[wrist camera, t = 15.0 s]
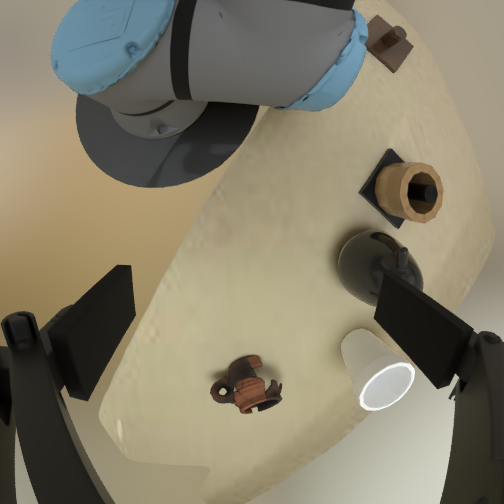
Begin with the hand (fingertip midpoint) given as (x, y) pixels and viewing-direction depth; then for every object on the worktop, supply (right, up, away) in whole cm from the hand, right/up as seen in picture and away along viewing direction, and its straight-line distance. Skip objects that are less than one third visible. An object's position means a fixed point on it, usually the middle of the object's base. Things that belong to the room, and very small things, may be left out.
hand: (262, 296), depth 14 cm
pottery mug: (-2, -20, +33) cm, 38 cm away
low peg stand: (+22, +37, +19) cm, 47 cm away
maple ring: (+22, +12, +25) cm, 35 cm away
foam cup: (+18, -14, +33) cm, 40 cm away
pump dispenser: (+16, +1, +28) cm, 33 cm away
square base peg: (+22, +12, +26) cm, 36 cm away
